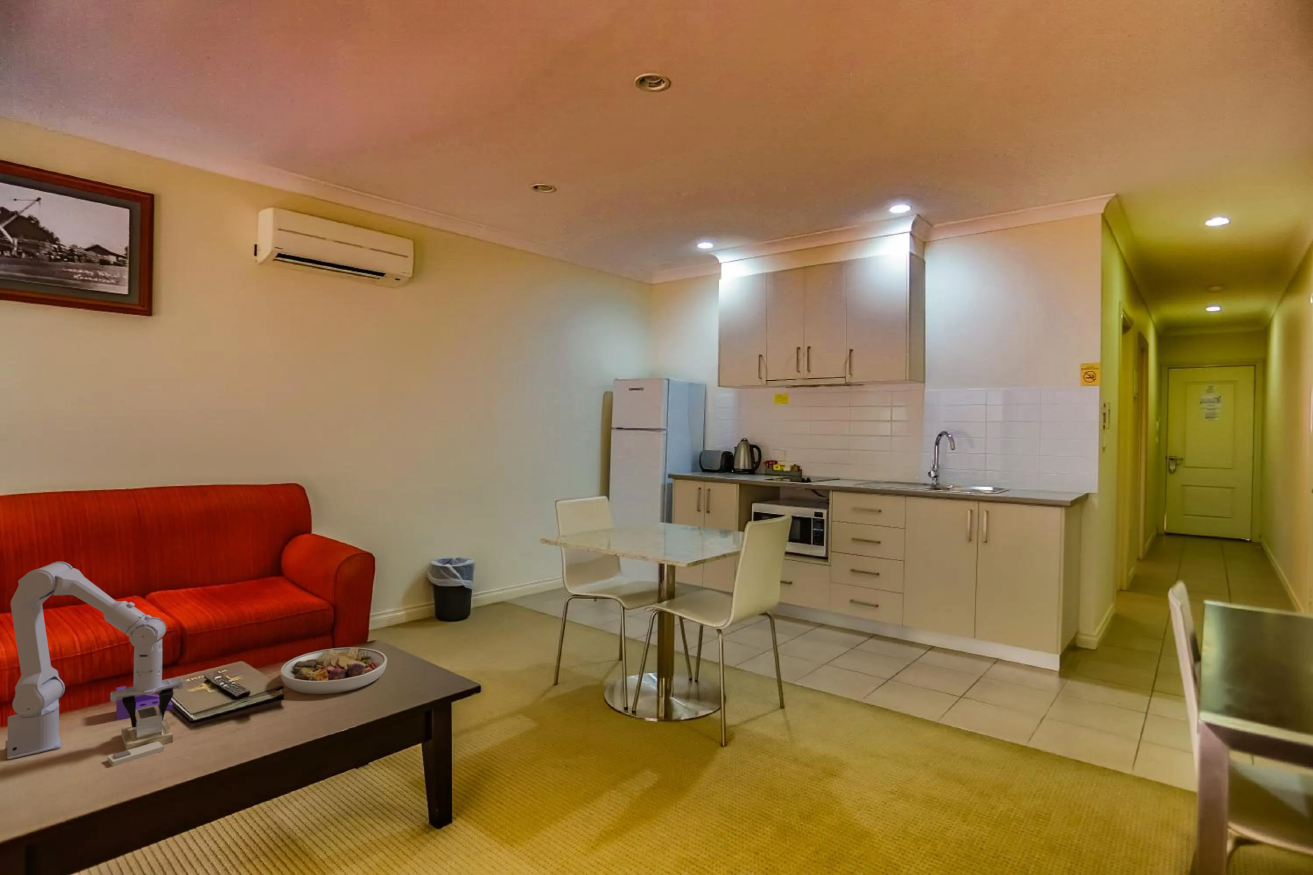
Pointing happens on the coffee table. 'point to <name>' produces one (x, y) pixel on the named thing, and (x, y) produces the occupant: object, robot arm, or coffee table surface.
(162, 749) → the block
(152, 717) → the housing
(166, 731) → the beige shallow tray
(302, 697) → the coffee table surface
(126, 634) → the robot arm
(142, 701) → the bracket
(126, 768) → the coffee table surface
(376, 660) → the bowl
